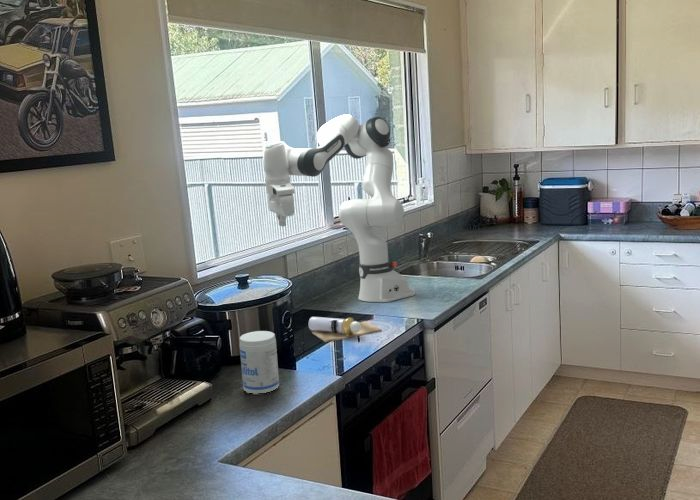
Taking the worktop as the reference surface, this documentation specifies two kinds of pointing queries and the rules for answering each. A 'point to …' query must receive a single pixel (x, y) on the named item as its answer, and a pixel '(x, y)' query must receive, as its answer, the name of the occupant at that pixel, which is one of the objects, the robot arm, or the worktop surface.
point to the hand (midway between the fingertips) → (282, 225)
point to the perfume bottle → (334, 325)
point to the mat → (330, 336)
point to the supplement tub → (259, 362)
